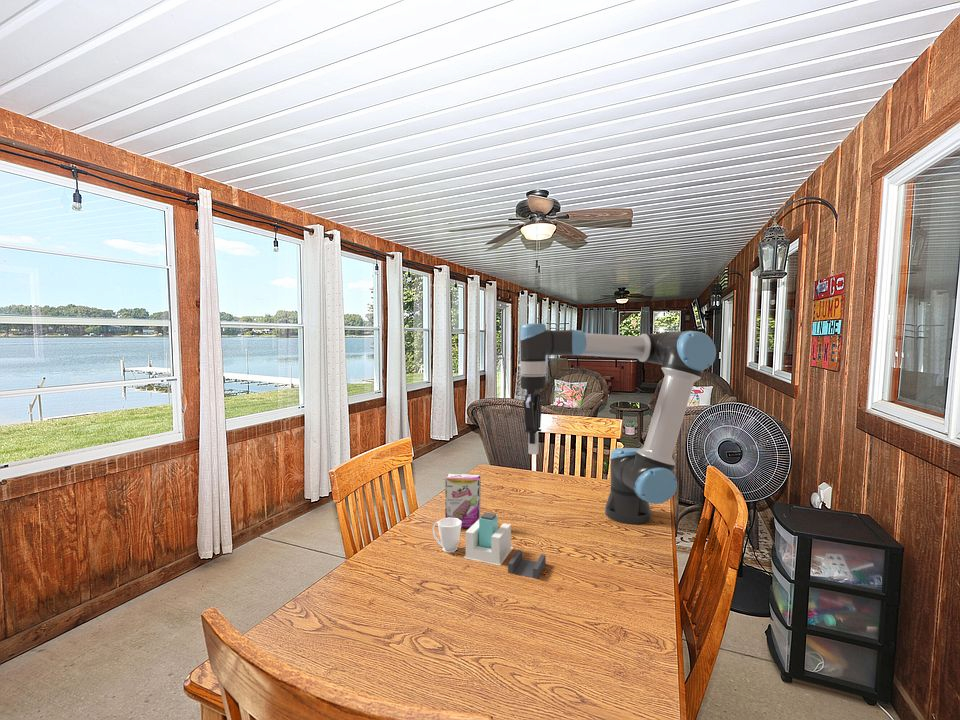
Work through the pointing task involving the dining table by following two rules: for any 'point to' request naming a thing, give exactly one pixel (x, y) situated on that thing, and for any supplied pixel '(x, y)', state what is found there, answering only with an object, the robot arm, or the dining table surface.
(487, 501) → the dining table surface
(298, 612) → the dining table surface
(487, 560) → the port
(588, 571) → the dining table surface
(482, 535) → the plug
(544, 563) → the holster
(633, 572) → the dining table surface
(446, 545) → the cup
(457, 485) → the candy bar box
